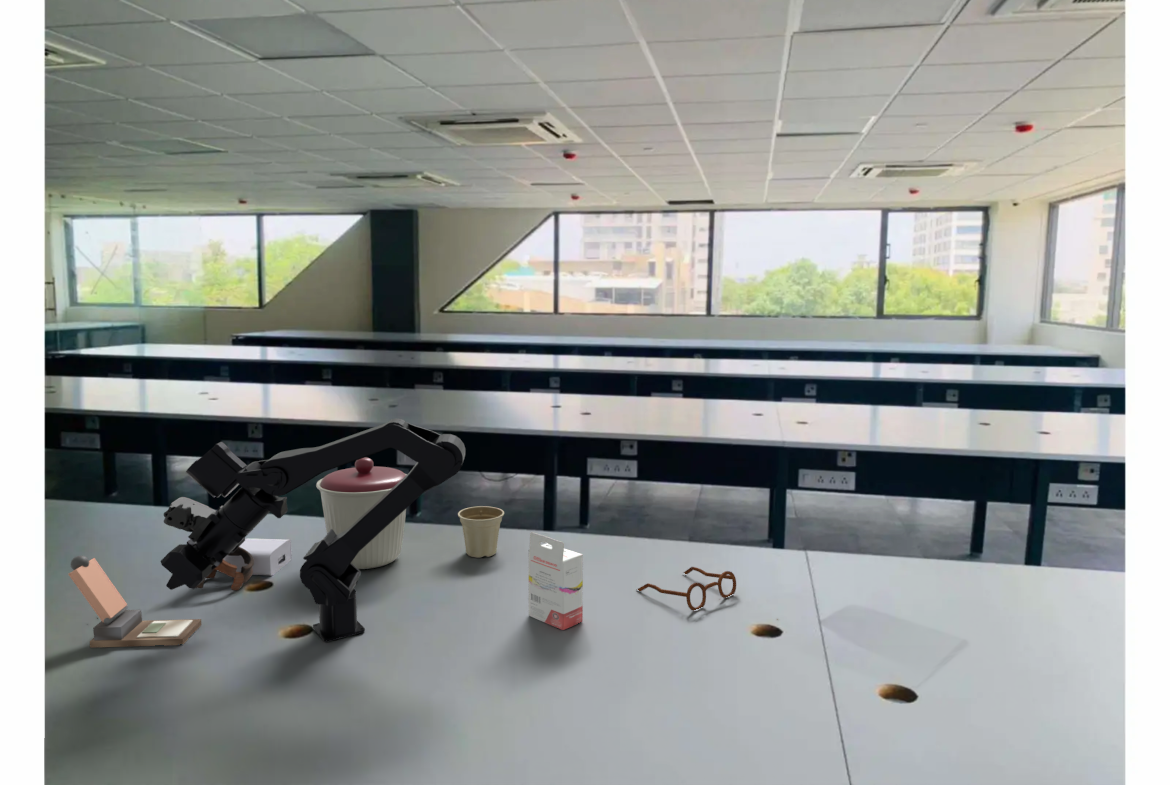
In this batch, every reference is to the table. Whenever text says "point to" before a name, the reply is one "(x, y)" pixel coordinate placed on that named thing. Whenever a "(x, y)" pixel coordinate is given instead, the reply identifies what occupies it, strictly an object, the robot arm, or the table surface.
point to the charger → (264, 555)
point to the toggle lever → (97, 588)
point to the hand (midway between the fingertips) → (169, 587)
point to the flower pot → (481, 529)
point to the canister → (363, 508)
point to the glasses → (703, 588)
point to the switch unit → (142, 631)
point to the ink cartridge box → (555, 583)
